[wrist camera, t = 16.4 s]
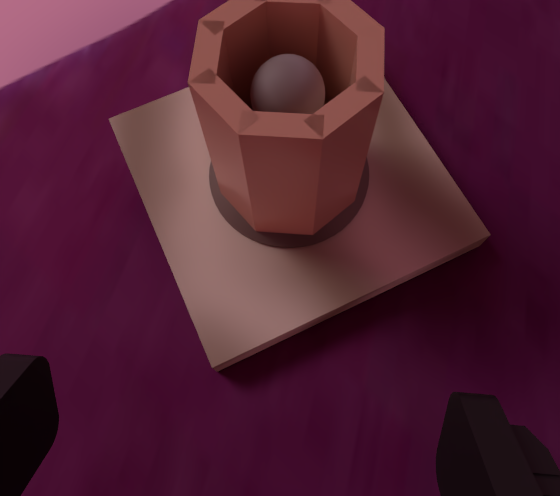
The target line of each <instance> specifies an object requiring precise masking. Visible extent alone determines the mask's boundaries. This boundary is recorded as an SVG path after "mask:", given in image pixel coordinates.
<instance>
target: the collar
mask: <svg viewBox="0 0 560 496" xmlns="http://www.w3.org/2000/svg"><path fill="white" fill-rule="evenodd" d="M384 29H385V28H384V27H382V26H381V25H380V24H379V23H377V22H376V21H375V20H374V19H373V18H371V17H370V16H369V15H368V14H367V13H365V12H364V11H363V10H362V9H361V8H359V7H358V6H357V5H356V4H354V3H353V2H352V1H351V0H229V1H227V2H226V3H224V4H223V5H221V6H220V7H218V8H217V9H215V10H214V11H212V12H210V13H209V14H207V15H206V16H204V17H203V18H201V19H200V20H199V22H198V28H197V34H196V39H195V45H194V50H193V56H192V62H191V67H190V73H189V79H188V85H189V88H190V92H191V95H192V98H193V102H194V105H195V108H196V112H197V115H198V118H199V122H200V125H201V128H202V132H203V135H204V138H205V142H206V145H207V148H208V152H209V155H210V158H211V162H212V165H213V168H214V172H215V175H216V178H217V182H218V185H219V188H220V192H221V194H222V195H223V196H224V197H225V198H226V199H227V200H228V201H229V202H230V203H231V205H232V206H233V207H234V208H235V209H236V210H237V211H238V212H239V213H240V214H241V216H242V217H243V218H244V219H245V220H246V221H247V222H248V223H249V224H250V226H251V227H252V228H253V229H254V230H255V231H258V232H273V233H288V234H303V235H314V234H315V233H316V232H317V231H318V230H320V229H321V228H322V227H323V226H325V225H326V224H327V223H328V222H330V221H331V220H332V219H333V218H334V217H336V216H337V215H338V214H339V213H341V212H342V211H343V210H344V209H346V208H347V207H348V206H349V205H350V204H352V203H353V202H354V201H355V198H356V194H357V191H358V187H359V183H360V179H361V176H362V172H363V168H364V165H365V161H366V157H367V153H368V150H369V146H370V142H371V139H372V135H373V131H374V128H375V124H376V120H377V116H378V113H379V109H380V105H381V102H382V98H383V94H384ZM281 54H295V55H299V56H302V57H304V58H306V59H307V60H309V61H310V62H311V63H313V64H314V65H315V67H316V68H317V69H318V71H319V72H320V74H321V76H322V78H323V81H324V86H325V102H324V106H323V107H321V108H320V109H319V110H317V111H316V112H315V113H313V114H299V113H281V112H262V111H252V104H251V95H250V92H251V84H252V80H253V78H254V75H255V73H256V72H257V70H258V69H259V68H260V66H261V65H262V64H263V63H265V62H266V61H267V60H269V59H270V58H272V57H274V56H277V55H281Z"/></svg>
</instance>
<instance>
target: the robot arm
mask: <svg viewBox="0 0 560 496" xmlns="http://www.w3.org/2000/svg"><path fill="white" fill-rule="evenodd" d="M58 424H59V414H58V408H57V403H56V398H55V393H54V387H53V382H52V377H51V371H50V366H49V363H48V361H47V359H46V358H45V357H42V356H31V355H19V354H3V355H1V356H0V496H21V494H22V492H23V491H24V489H25V488H26V486H27V485H28V483H29V481H30V480H31V478H32V477H33V475H34V474H35V472H36V470H37V469H38V467H39V466H40V464H41V463H42V461H43V459H44V458H45V456H46V455H47V453H48V451H49V450H50V448H51V447H52V445H53V442H54V440H55V437H56V434H57V430H58ZM436 475H437V482H438V487H439V491H440V495H441V496H560V471H559V469H558V467H557V465H556V463H555V462H554V460H553V458H552V456H551V454H550V452H549V450H548V449H547V448H546V447H545V446H544V445H543V444H542V443H541V442H540V441H539V440H538V439H537V438H536V437H535V436H534V435H533V434H532V433H531V432H530V431H529V430H528V429H527V428H526V427H525V426H517V425H510V424H509V422H508V420H507V418H506V415H505V413H504V411H503V409H502V407H501V405H500V403H499V401H498V399H497V398H496V397H495V396H494V395H485V394H473V393H461V392H453V393H452V394H451V396H450V398H449V401H448V406H447V410H446V414H445V418H444V422H443V427H442V431H441V435H440V439H439V443H438V448H437V454H436Z"/></svg>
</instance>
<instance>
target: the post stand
mask: <svg viewBox="0 0 560 496" xmlns="http://www.w3.org/2000/svg"><path fill="white" fill-rule="evenodd" d="M250 95H251V104H252V111H262V112H281V113H299V114H313V113H315V112H316V111H317V110H319V109H320V108H321V107H323V106H324V102H325V86H324V81H323V78H322V76H321V74H320V72H319V71H318V69H317V68H316V67H315V65H314V64H313V63H311V62H310V61H309V60H307V59H306V58H304V57H302V56H299V55H295V54H281V55H277V56H274V57H272V58H270V59H269V60H267V61H266V62H265V63H263V64H262V65H261V66H260V68H259V69H258V70H257V72H256V73H255V75H254V78H253V80H252V84H251V92H250ZM109 121H110V123H111V126H112V128H113V131H114V133H115V135H116V138H117V140H118V143H119V145H120V147H121V150H122V152H123V155H124V157H125V159H126V162H127V164H128V167H129V169H130V171H131V174H132V176H133V179H134V181H135V183H136V186H137V188H138V191H139V193H140V196H141V198H142V200H143V203H144V205H145V208H146V210H147V212H148V215H149V217H150V220H151V222H152V224H153V227H154V229H155V232H156V234H157V236H158V239H159V241H160V244H161V246H162V248H163V251H164V253H165V256H166V258H167V260H168V263H169V265H170V268H171V270H172V272H173V275H174V277H175V280H176V282H177V284H178V287H179V289H180V292H181V294H182V296H183V299H184V301H185V304H186V306H187V309H188V311H189V313H190V316H191V318H192V321H193V323H194V325H195V328H196V330H197V333H198V335H199V337H200V340H201V342H202V345H203V347H204V349H205V352H206V354H207V357H208V359H209V361H210V364H211V366H212V368H213V369H214V370H215V371H217V372H218V371H220V370H222V369H224V368H226V367H228V366H231V365H233V364H235V363H237V362H239V361H241V360H243V359H245V358H247V357H249V356H251V355H253V354H256V353H258V352H260V351H262V350H264V349H266V348H268V347H270V346H272V345H274V344H276V343H278V342H281V341H283V340H285V339H287V338H289V337H291V336H293V335H295V334H297V333H299V332H301V331H303V330H306V329H308V328H310V327H312V326H314V325H316V324H318V323H320V322H322V321H324V320H326V319H328V318H331V317H333V316H335V315H337V314H339V313H341V312H343V311H345V310H347V309H349V308H351V307H354V306H356V305H358V304H360V303H362V302H364V301H366V300H368V299H370V298H372V297H374V296H376V295H379V294H381V293H383V292H385V291H387V290H389V289H391V288H393V287H395V286H397V285H399V284H401V283H404V282H406V281H408V280H410V279H412V278H414V277H416V276H418V275H420V274H422V273H424V272H426V271H429V270H431V269H433V268H435V267H437V266H439V265H441V264H443V263H445V262H447V261H449V260H451V259H454V258H456V257H458V256H460V255H462V254H464V253H466V252H468V251H470V250H472V249H474V248H476V247H479V246H480V245H481V244H482V243H483V242H484V241H485V240H486V239H487V238H488V237H489V236H490V233H489V232H488V230H487V229H486V227H485V226H484V224H483V223H482V221H481V220H480V218H479V217H478V215H477V214H476V212H475V211H474V210H473V208H472V207H471V205H470V204H469V202H468V201H467V199H466V198H465V196H464V195H463V193H462V192H461V190H460V189H459V187H458V186H457V184H456V183H455V182H454V180H453V179H452V177H451V176H450V174H449V173H448V171H447V170H446V168H445V167H444V165H443V164H442V162H441V161H440V159H439V158H438V156H437V155H436V154H435V152H434V151H433V149H432V148H431V146H430V145H429V143H428V142H427V140H426V139H425V137H424V136H423V134H422V133H421V131H420V130H419V128H418V127H417V126H416V124H415V123H414V121H413V120H412V118H411V117H410V115H409V114H408V112H407V111H406V109H405V108H404V106H403V105H402V103H401V102H400V101H399V99H398V98H397V96H396V95H395V93H394V92H393V90H392V89H391V87H390V86H389V84H388V83H387V81H386V80H385V78H384V94H383V98H382V102H381V105H380V109H379V113H378V116H377V120H376V124H375V128H374V131H373V135H372V139H371V142H370V146H369V150H368V153H367V157H366V161H365V165H364V168H363V172H362V176H361V179H360V183H359V187H358V191H357V194H356V198H355V201H354V202H353V203H352V204H350V205H349V206H348V207H347V208H346V209H344V210H343V211H342V212H341V213H339V214H338V215H337V216H336V217H334V218H333V219H332V220H331V221H330V222H328V223H327V224H326V225H325V226H323V227H322V228H321V229H320V230H318V231H317V232H316V233H315V234H314V235H303V234H288V233H273V232H258V231H255V230H254V229H253V228H252V227H251V226H250V224H249V223H248V222H247V221H246V220H245V219H244V218H243V217H242V216H241V214H240V213H239V212H238V211H237V210H236V209H235V208H234V207H233V206H232V205H231V203H230V202H229V201H228V200H227V199H226V198H225V197H224V196H223V195H222V194H221V192H220V188H219V185H218V182H217V178H216V175H215V172H214V168H213V165H212V162H211V158H210V155H209V152H208V148H207V145H206V142H205V138H204V135H203V132H202V128H201V125H200V122H199V118H198V115H197V112H196V108H195V105H194V102H193V98H192V95H191V92H190V88H189V87H188V88H185V89H183V90H180V91H178V92H175V93H173V94H170V95H168V96H165V97H163V98H160V99H158V100H155V101H153V102H150V103H147V104H145V105H142V106H140V107H137V108H135V109H132V110H130V111H127V112H125V113H122V114H120V115H117V116H115V117H112V118H110V119H109Z"/></svg>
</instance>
